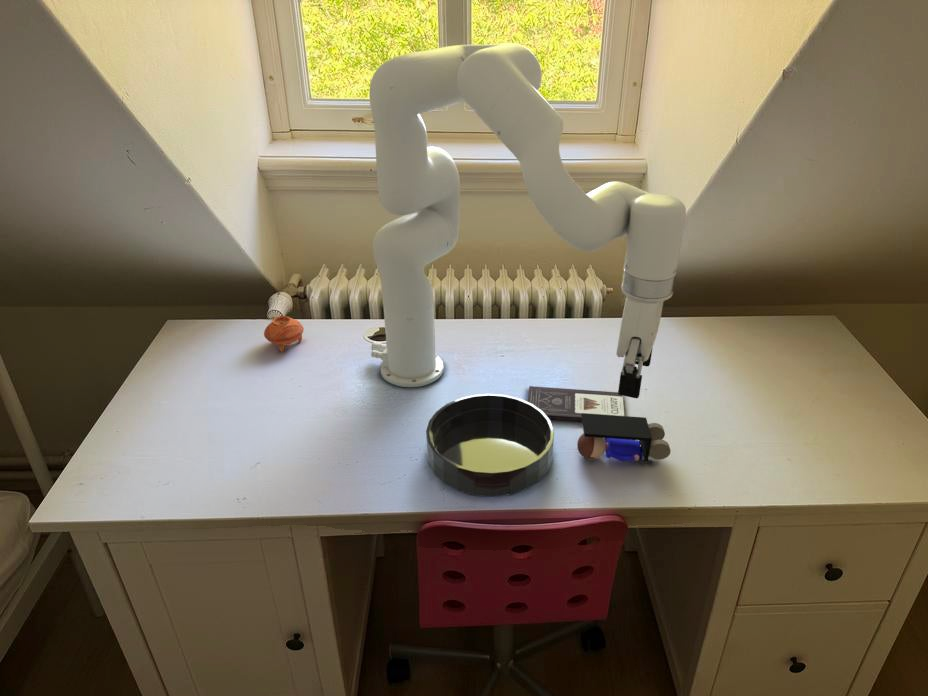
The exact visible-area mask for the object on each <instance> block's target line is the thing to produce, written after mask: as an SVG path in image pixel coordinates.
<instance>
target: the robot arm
mask: <svg viewBox="0 0 928 696" xmlns="http://www.w3.org/2000/svg"><path fill="white" fill-rule="evenodd" d="M542 76H543V75H542V69H541V64H540V62H539V60H538V58H537V57H536V55H535V54H534V53H533V52H532V50H530V48H528V47H526V46H525V45H522V44H520V43H516V42H509V43H507V42H506V43H487V44H456V45H449V46H448V45H447V46H442V47H437V48H432V49H423V50H419V51H414V52H408V53H404V54H401V55H398V56H395V57H392V58H391V59H388V60H387V61H385V62H384V63H382V64H381V65H379V67H377V69H376V70H375V71H374V73H373V75H372V78H371V80H370V83H369V92H368V93H369V105H370V109H371V110H370V111H371V117H372V120H373V128H374V139H375V145H374V146H375V163H376V180H377V181H376V182H377V192H378V198H379V201H380V203H381V206H382V207H383V209H385V211H386V212H387V213H389V214H391V215H393V216H400V217H397V218H396V219H393V220H391V221H390V222H388V223H386V224H385V225H383V226H382V227H380V229H379V230H378V231H377V232H376V233H375V235H374V237H373V240H372V254H373V257H374V261H375V264H376V269H377V271H378V277H379V281H380V288H381V296H382V297H381V298H382V306H383V308H382V309H383V319H384V330H385V331H384V333H385V343H386V344H384V343H381V342H377V341H372V343H371V348H370V349H371V352H370V356H371V357H372V358H376V359H381V361H382V362H381V364H380V374H381V377H382V378H383V379H384V380H385V381H386V382H388V383H389V384H392V385H394V386H398V387H403V388H418V387H424V386H426V385H429V384H432V383H433V382H436V381H437V380H439V379H440V378H441V376H442V375H443V374H444V369H445V366H444V365H445V364H444V361H443V359H442V358H441V357H440V356H439V355H437V353H436V330H435V303H434V289H433V285H432V283H431V281H430V279H429V278H428V276H427V275H426V272H425V269H426V267H427V266H428V265H430V264H431V263H432V262H434V261H436V260H438V259H439V258H442V257H443V256H445V255H447V254H448V253H450V252H451V251H453V249H454V248H455V246H456V245H457V242H458V239H459V235H460V211H461V210H460V209H461V207H460V202H461V180H460V174H459V173H460V172H459V170H458V168H457V167H458V166H457V165H456V163H455V160H454V159H453V157H452V156H451V155H450V154H449V153H448V152H447V151H445V150H444V149H442V148H441V147H438V146H437V147H436V146H428V132H427V128H426V125H425V123H424V119H423V118H422V115H421V114H422V113H427V112H428V113H429V112H432V111H435V110H439V109H444V108H447V107H451V106H455V105H458V104H461V103H466V104H467V105H468V107H470V109H471V110H472V111H473V112H474V113H475V114H476V116H478V118H480V120H481V121H482V122H483V123H484V124H485V125H486V126H487V127H488V128H489V129H490V131H491V132H492V133H493V134H494V135H495V136H496V137H497V139H499V140H500V142H501V143H502V144H503V145H504V146H505V147H506V148H507V149H508V150H509V151H510V153H511V154H512V155H513V156H514V157H515V158H516V159H517V161H518V162H519V164H520V167H521V168H520V169H521V173H522V177H523V182H524V184H525V188H526V190H527V193H528V196H529V198H530V201H531V202H532V204H533V207H534V208H535V209H536V211H537V213H538V214H539V215H540V216H541V217H542V219H543V220H544V222H546V223H547V224H548V226H550V228H551V229H552V230H553V231H554V232H555V233H556V234H557V235H558V237H560V238H561V239H562V240H563V242H565V243H567V244H568V245H569V246H571V247H572V248H574V249H576V250H578V251H581V252H584V253H585V252H587V253H591V252H596V251H599V250H601V249H603V248H604V247H606V246H607V245H609V244H611V243H612V242H613V241H615V240H616V239H618V238H621V237H624V236H625V237H626V244H625V245H626V247H625V254H624V264H623V272H622V280H621V289H620V290H621V292H622V293H623V294H624V295H625V296H626V298H625V301H624V305H623V310H622V315H621V316H622V317H621V322H620V328H619V329H620V330H619V333H618V334H619V335H618V341H617V348H616V353H615V354H616V356H617V357H618V358H624V359H623V364H622V368H621V371H620V376H619V383H618V391H617V392H618V394H619V395H622V396H623V397H627V398H632V399H638V398H639V397H640V394H641V386H642V379H643V375H642V371H643V366H644V367H650V365H651V361H652V356H653V355H652V353H653V349H654V348H653V347H654V344H655V341H656V338H657V335H658V332H659V327H660V324H661V318H662V312H663V307H664V302H665V301H667V300H669V299H671V298H672V297H673V295H674V289H675V283H676V278H677V271H678V265H679V258H680V253H681V247H682V241H683V234H684V228H685V223H686V222H685V221H686V215H687V208H686V206H685V203H684V202H683V201H682V200H681V199H679V198H678V197H675V196H673V195H668V194H663V193H651V192H649V191H646V190H643V189H641V188H638V187H636V186H635V185H632V184H630V183H626V182H623V181H617V180H616V181H615V180H614V181H608V182H605V183H604V184H602V185H600V186H599V187H597V188H595V189H592V190H591V191H589V192H587V193H586V192H585V191H584V190H583V188H581V186H580V185H579V184H578V183H577V182H576V181H575V179H574V178H573V177H572V176H571V175H570V173H569V172H568V171H567V169H566V167H565V165H564V163H563V160H562V158H561V154H560V141H561V136H562V134H563V132H564V128H565V124H564V120H563V118H562V116H561V115H560V113H559V112H557V110H556V109H555V108H554V107H553V106H552V105H551V104H550V103H549V102H548V101H547V99H545V97H543V95H542V94H541V93H540V92H539V89H540V87H541V84H542V78H543V77H542ZM636 365H637V366H636Z"/></svg>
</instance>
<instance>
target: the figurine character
mask: <svg viewBox="0 0 928 696" xmlns="http://www.w3.org/2000/svg"><path fill="white" fill-rule="evenodd" d="M581 417H582V422H581V424H582V431H583V433H581V435H580V436H579V437H578V440H577V444H576V445H577V451H578V453H579V454H580V456H581V457H582V458H585V459H586V460H589V461H594V460H595V461H596V460H598V459H600V458H601V457H603V455H604V454H605V457H606V458H607V459H611V458H612V459H615V460H617V461H620V462H633V461H636V462H637V463H645V464H652V463H654V460H657V461H661V460H664V459H666V458H669V456H670V455H671V447H670V444H669V442H668V441H666V440H664V438H665V435H666V433H665V429H664V427H663V426H662V424H660V423H657V422H650V423H648V419H647V417H645V416H644V417H642V416H630V415H629V416H628V415H624V416H616V415H602V414H588V413H582V415H581ZM650 458H652V459H653V460H651V459H650Z"/></svg>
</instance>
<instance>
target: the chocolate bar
mask: <svg viewBox="0 0 928 696" xmlns="http://www.w3.org/2000/svg"><path fill="white" fill-rule="evenodd" d="M623 397H624V396H622V395H619V394H618V391H606V390H605V391H604V390H589V389H577V388H576V389H574V388H561V387H546V386H533V385H529V386H528V396H527V402H529V403H532V404H533V405H534V406H536V407H537V408H539V409H540V410H542V411H543V412H544V413H545V415H546V416H547V417H548V418H549V419H550V421H565V422H578V423H579V422H580V423H582V417H581V415H582V413H588V414H602V415H616V416H625V409H624V408H625V407H624V398H623Z"/></svg>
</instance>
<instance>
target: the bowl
mask: <svg viewBox="0 0 928 696" xmlns="http://www.w3.org/2000/svg"><path fill="white" fill-rule="evenodd" d="M435 411H436V412H434V413H433V415H432V416H431V417H430V419H429V420H428V423H427V427H426V430H425V437H426V439H425V440H426V454H427V462H428V466H429V467H430V469H431V471H432V473H433V475H435V476H436V477H437V478H438V479H439V480H440V481H441V482H442V483H443V484H445V485H446V486H448V487H451V488H452V489H454V490H456V491H458V492H461V493H465V494H469V495H471V496H472V495H473V496H481V497H499V496H500V497H501V496H508V495H512V494H515V493H519V492H522V491H525V490H527V489H529V488H531V487H532V486H534V485H536V484H537V483H539V482H540V481H541V480H542V479H543V478H544V476H546V475H547V473H548V472H549V470H550V467H551V465H552V462H553V451H554V439H555V429H554V426H553V423H552V420H551V419H549V418H548V417H547V416H546V415H545V413H544V412H543V411H542V410H540V409H539V408H537V407H536V406H534V405H533V404H532V403H529V402H528V400H525V399H522V398H519V397H516V396H511V395H507V394H501V393H499V394H498V393H481V394H472V395H467V396H463V397H460V398H457V399H455V400H453V401H450V402H448V403H446V404H445V405H443V406H441V407H440V408H439V409H438V410H435Z"/></svg>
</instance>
